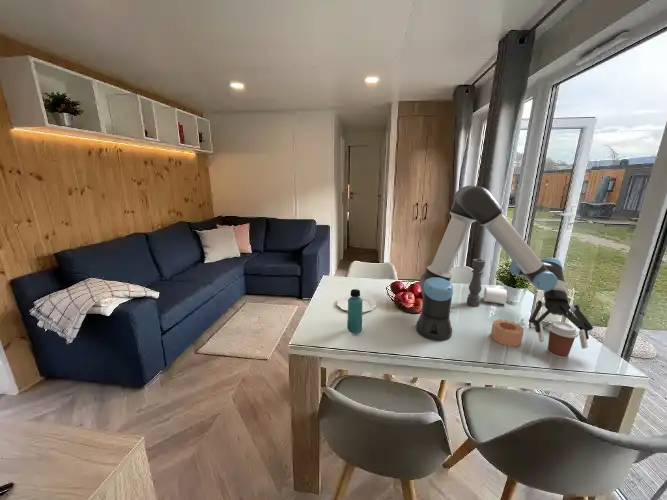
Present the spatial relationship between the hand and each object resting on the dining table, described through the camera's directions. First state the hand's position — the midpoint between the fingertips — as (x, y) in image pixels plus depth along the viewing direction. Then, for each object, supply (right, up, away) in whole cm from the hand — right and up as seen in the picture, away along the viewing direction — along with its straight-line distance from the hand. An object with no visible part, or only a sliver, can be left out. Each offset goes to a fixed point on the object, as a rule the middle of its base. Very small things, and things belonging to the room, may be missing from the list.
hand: (562, 344), depth 106 cm
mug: (+3, +7, +51) cm, 52 cm away
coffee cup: (+1, -5, +3) cm, 6 cm away
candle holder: (-11, +6, +46) cm, 48 cm away
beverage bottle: (-78, -1, +17) cm, 80 cm away
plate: (-75, +6, +44) cm, 87 cm away
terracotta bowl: (-14, -2, +13) cm, 19 cm away
